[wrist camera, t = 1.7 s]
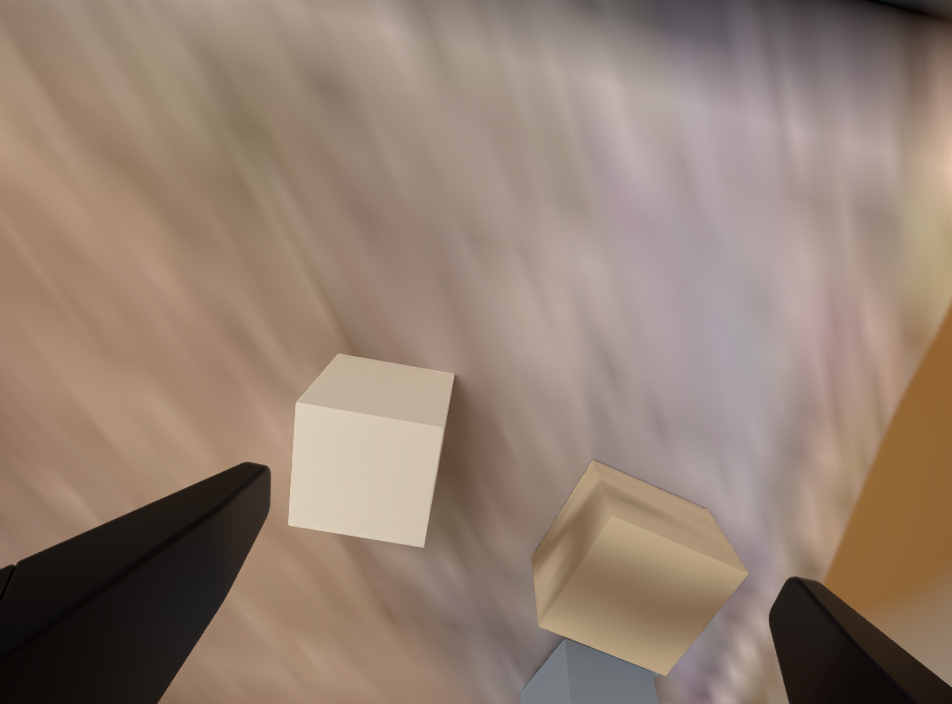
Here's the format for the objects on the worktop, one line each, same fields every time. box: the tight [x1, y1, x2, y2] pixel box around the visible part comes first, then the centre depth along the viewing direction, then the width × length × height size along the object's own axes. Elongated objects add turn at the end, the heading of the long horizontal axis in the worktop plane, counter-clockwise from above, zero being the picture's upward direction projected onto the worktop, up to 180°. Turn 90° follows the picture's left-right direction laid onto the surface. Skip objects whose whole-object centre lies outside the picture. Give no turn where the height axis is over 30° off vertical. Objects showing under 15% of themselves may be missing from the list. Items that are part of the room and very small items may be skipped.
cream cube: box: [288, 354, 455, 548], centre depth 20 cm, size 5×5×5 cm
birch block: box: [532, 460, 749, 676], centre depth 22 cm, size 6×6×4 cm
